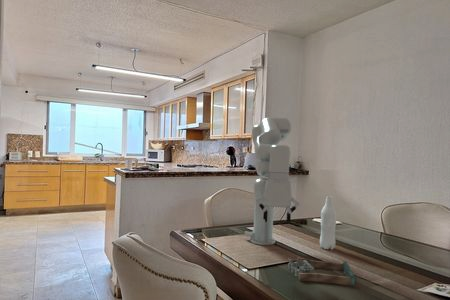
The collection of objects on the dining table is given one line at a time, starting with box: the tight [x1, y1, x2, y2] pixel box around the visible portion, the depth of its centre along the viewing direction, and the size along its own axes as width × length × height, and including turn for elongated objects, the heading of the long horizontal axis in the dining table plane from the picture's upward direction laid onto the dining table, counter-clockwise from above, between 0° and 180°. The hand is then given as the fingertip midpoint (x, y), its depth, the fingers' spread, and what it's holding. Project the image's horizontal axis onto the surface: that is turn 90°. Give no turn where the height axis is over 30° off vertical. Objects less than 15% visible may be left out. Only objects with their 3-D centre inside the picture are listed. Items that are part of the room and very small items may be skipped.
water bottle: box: [319, 195, 338, 251], centre depth 146 cm, size 7×7×25 cm
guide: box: [296, 256, 356, 287], centre depth 113 cm, size 19×17×4 cm
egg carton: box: [287, 257, 315, 278], centre depth 115 cm, size 11×8×4 cm
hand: (276, 222), depth 117 cm, fingers open, 7 cm apart
